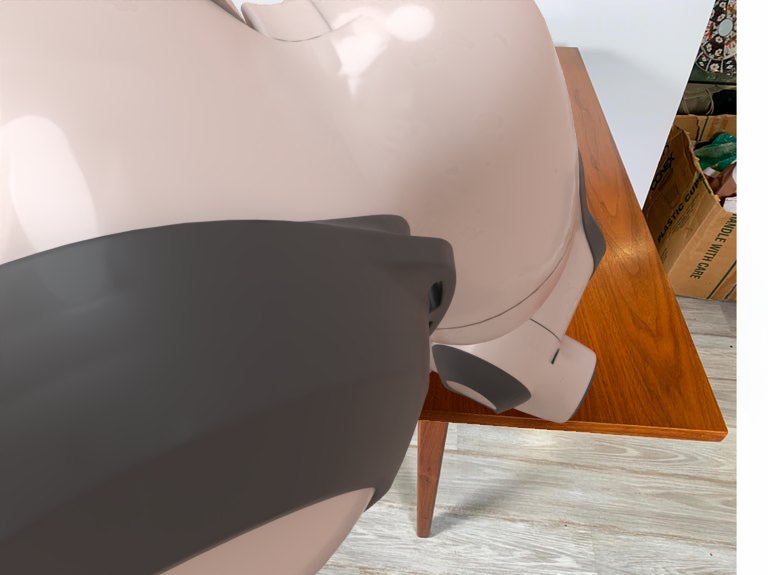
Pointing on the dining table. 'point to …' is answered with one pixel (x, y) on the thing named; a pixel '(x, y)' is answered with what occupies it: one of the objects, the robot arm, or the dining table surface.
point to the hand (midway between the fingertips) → (322, 273)
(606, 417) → the dining table surface
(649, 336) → the dining table surface
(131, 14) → the robot arm
